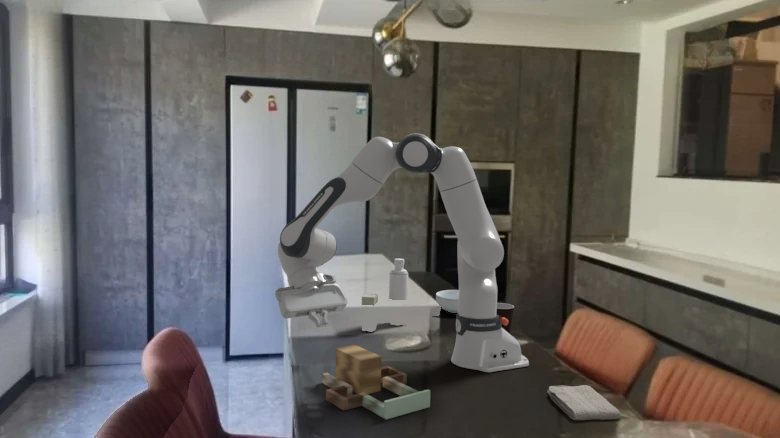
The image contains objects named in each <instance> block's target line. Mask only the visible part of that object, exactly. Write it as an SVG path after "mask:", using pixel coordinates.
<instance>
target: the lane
mask: <svg viewBox="0 0 780 438" xmlns="http://www.w3.org/2000/svg"><path fill="white" fill-rule="evenodd" d="M321 375H322V376H321V378H322V379H321V383H322V384H323V385H325V386H327V387H328V389H326V390H325V401H327V402H329V403H330V404H332V405H334V406H336V407H337V408H338V409H340V410H341V411H348V410H352V409H355V408H359V407H363V408H364V409H366V410H369V411H370V412H372V413H374V414H376V415H377V416H379V417H381V418H383V415H384V401H381V400H378V399H377V398H375V397H373V396H371V395H370V394H366V393H359V394H357V393H355V394H353V391H352V386H351V385H349V384H348V383H346V382H344V381H342V380H340V379H338V378H336V377H335V376H336V375H335V376H334V375H332V374H331V373H329V372H323V373H322V374H321ZM407 378H408V374H407V373H406V372H403V371H401V370H398V369H396V368H394V367H392V366H390V365H386V366H381V384H382V387H383V388H384V389H386V390H388V391H390V392H391V393H393V394H396V395H398V396H399V397H401V396H405V395H408V394H412V393H416V392H420V391H419V390H417V389H415V388H413V387H411V386H408V385H406V384H408V383H407V380H408V379H407ZM383 419H384V418H383Z"/></svg>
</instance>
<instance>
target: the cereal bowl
mask: <svg viewBox="0 0 780 438" xmlns="http://www.w3.org/2000/svg"><path fill="white" fill-rule="evenodd" d="M435 301H436V304H437V303H438V304H440V305H441V307H442V308H441V309H442V310H444V311H446V312H447V311H448V312H451V313H458V303H459V289H446V290H440V291H437V292H436V293H435ZM438 304H437V305H438ZM448 312H447V313H448ZM451 313H450V314H451Z"/></svg>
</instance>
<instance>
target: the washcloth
mask: <svg viewBox="0 0 780 438" xmlns="http://www.w3.org/2000/svg"><path fill="white" fill-rule="evenodd" d="M547 395H549V397H550V399H551V400H552V402H554V404H556V405H557V406H558V407H559V408H560V409H561V410H562V411H563V412H564V413H565V414H566V415H567V416H568V417H569V418H570V419H572V421H573V420H574V421H589V420H590V421H591V420H593V421H594V420H601V421H602V420H603V421H604V420H619V419H620V418H622V416H621V412H620V410H619V409H618V408H617V407H616V406H614V405H613V404H612V403H610V402H609V400H607V399H606V398H605V397H603V396H602V395H601V394H600V393H598V392H597V391H596V390H595V389H594V388H593V387H592V386H590V385H588V384H587V385H586V384H582V385H581V384H580V385H575V386H574V385H573V386H569V385H564V384H563V385H562V384H561V385H560V384H559V385H550V386H549V387H548V389H547Z"/></svg>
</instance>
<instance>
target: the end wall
mask: <svg viewBox="0 0 780 438" xmlns="http://www.w3.org/2000/svg"><path fill="white" fill-rule="evenodd" d="M431 393H432V392H431V390H430V389H428V388H427V389H424V390H421V391H419V392H416V393H412V394H408V395H405V396H398V397H394V398H389V399H386V400H383V403H384V415H383V419H384V420H389V419H394V418H396V417H399V416H403V415H406V414H410V413H413V412H417V411H418V412H419V411H421V410H423V409H424V410H425V409H427V408H430V407H431Z"/></svg>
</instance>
